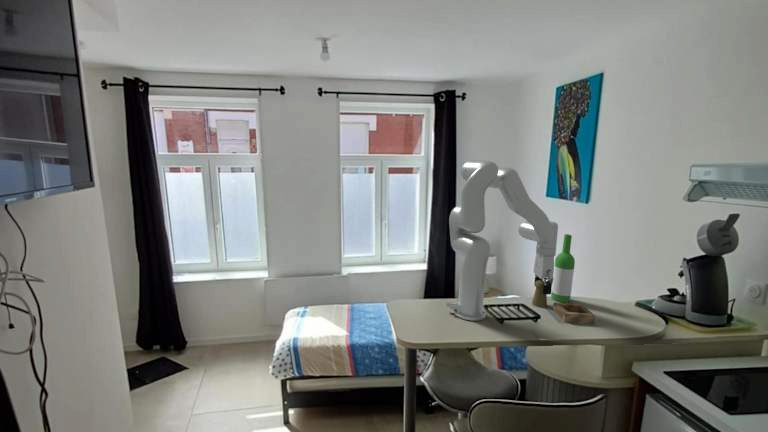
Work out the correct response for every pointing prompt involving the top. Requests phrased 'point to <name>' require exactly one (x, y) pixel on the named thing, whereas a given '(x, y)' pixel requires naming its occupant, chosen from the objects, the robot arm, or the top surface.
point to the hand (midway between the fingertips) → (542, 289)
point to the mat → (561, 319)
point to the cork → (539, 295)
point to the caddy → (574, 313)
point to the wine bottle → (563, 273)
